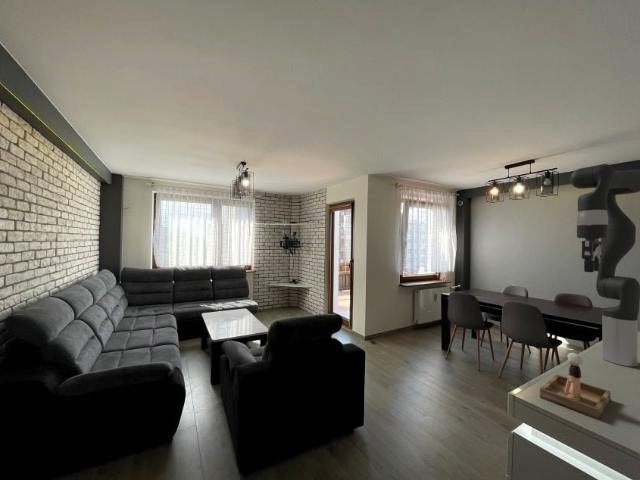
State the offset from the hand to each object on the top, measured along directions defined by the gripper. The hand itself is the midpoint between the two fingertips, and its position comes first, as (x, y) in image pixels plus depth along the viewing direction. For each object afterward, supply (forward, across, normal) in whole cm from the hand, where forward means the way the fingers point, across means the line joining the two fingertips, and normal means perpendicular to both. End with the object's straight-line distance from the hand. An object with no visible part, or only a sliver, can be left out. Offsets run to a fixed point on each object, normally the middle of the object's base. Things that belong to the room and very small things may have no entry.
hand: (591, 271), depth 91 cm
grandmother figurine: (+36, +23, 0) cm, 42 cm away
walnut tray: (+36, +22, 0) cm, 42 cm away
